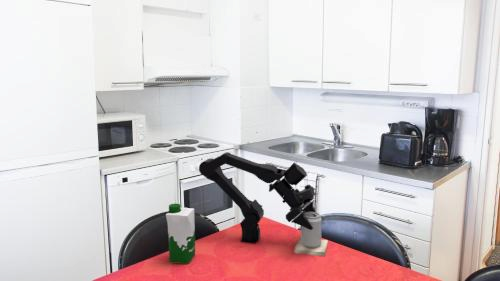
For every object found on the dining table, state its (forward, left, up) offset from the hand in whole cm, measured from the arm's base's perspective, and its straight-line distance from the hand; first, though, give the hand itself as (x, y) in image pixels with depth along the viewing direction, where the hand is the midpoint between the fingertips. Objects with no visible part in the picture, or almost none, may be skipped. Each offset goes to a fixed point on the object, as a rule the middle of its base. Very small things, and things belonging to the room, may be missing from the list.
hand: (315, 224), depth 149 cm
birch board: (-1, 0, -10) cm, 10 cm away
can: (-2, 0, -8) cm, 8 cm away
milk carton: (-45, -20, -10) cm, 50 cm away
